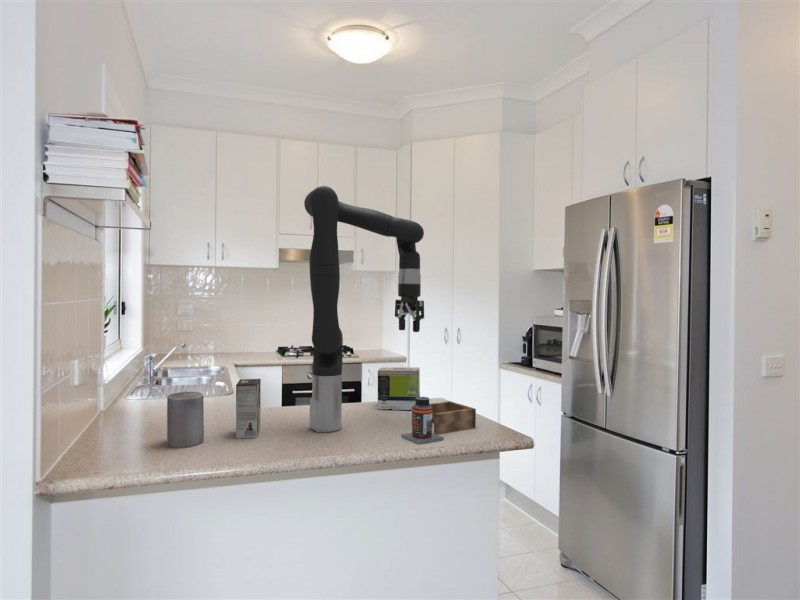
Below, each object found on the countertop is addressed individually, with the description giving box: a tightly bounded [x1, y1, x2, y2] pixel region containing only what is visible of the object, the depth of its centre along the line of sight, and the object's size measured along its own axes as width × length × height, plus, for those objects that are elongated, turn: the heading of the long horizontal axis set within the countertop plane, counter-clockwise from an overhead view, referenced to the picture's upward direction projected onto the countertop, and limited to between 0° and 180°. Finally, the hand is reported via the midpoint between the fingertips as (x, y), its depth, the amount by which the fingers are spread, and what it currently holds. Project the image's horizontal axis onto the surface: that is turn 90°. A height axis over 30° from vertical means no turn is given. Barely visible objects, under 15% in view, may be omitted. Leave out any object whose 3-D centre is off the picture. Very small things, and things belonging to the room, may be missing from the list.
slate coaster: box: [400, 432, 445, 445], centre depth 162 cm, size 9×9×1 cm
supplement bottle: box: [411, 396, 433, 438], centre depth 161 cm, size 6×6×11 cm
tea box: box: [377, 366, 421, 411], centre depth 203 cm, size 15×10×15 cm
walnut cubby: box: [412, 400, 477, 435], centre depth 176 cm, size 16×13×6 cm
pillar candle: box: [166, 389, 205, 449], centre depth 154 cm, size 10×10×15 cm
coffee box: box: [235, 378, 262, 439], centre depth 164 cm, size 9×6×16 cm
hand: (408, 331), depth 183 cm, fingers open, 8 cm apart
